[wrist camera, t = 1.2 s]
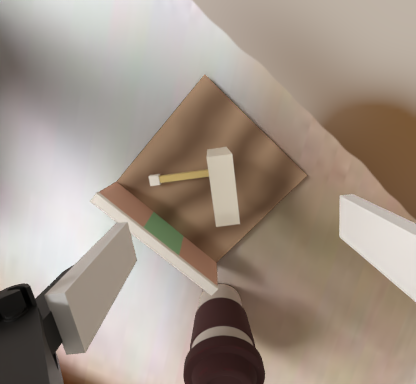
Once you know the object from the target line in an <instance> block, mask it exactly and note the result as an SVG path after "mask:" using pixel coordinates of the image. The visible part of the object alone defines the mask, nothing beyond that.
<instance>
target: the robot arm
mask: <svg viewBox="0 0 416 384" xmlns="http://www.w3.org/2000/svg"><path fill="white" fill-rule="evenodd" d="M339 237H340V238H341V239H342V240H344V241H345V242H346V243H347V244H348V245H349V246H351V247H352V248H353V249H354V250H355V251H356V252H358V253H359V254H360V255H361V256H362V257H363V258H365V259H366V260H367V261H368V262H369V263H370V264H372V265H373V266H374V267H375V268H376V269H377V270H379V271H380V272H381V273H382V274H383V275H385V276H386V277H387V278H388V279H389V280H390V281H392V282H393V283H394V284H395V285H396V286H397V287H399V288H400V289H401V290H402V291H403V292H404V293H406V294H407V295H408V296H409V297H410V298H411V299H413V300H414V301H415V302H416V223H414V222H412V221H410V220H407V219H405V218H403V217H401V216H399V215H397V214H395V213H392V212H390V211H388V210H386V209H384V208H382V207H380V206H378V205H375V204H373V203H371V202H369V201H367V200H365V199H363V198H360V197H358V196H356V195H354V194H348V195H340V222H339ZM136 261H137V258H136V254H135V250H134V246H133V242H132V238H131V234H130V229H129V225H128V222H122V223H116V224H115V225H114V226H113V227H112V228H111V229H110V230H109V231H108V232H107V233H106V234H105V235H104V236H103V237H102V238H101V239H100V240H99V241H98V242H97V243H96V244H95V245H94V246H93V247H92V248H91V249H90V250H89V251H88V252H87V253H86V254H85V255H84V256H83V257H82V258H81V259H80V260H79V261H78V262H77V263H76V264H75V265H73V266H71V267H70V268H68V269H67V270H65V271H63V272H62V273H61V274H60V275H59V276H58V277H57V278H56V280H54V281H53V282H52V283H51V284H50V286H48V287H47V288H46V289H45V290H44V291H43V292H42V293H41V294H40V295H39V296H38V297H37V298H36V299H35V298H34V295H33V292H32V290H31V287H30V286H29V284H18V285H14V286H11V287H8V288H6V289H4V290H2V291H0V384H64V383H63V379H62V374H61V370H60V365H59V360H58V357H57V355H56V350H57V349H58V347H59V346H60V345H61V343H62V344H63V347H64V349H65V352H66V355H68V354H78V353H86V351H87V349H88V347H89V345H90V344H91V342H92V340H93V338H94V336H95V335H96V333H97V331H98V329H99V328H100V326H101V324H102V322H103V320H104V319H105V317H106V315H107V313H108V311H109V310H110V308H111V306H112V304H113V302H114V301H115V299H116V297H117V295H118V294H119V292H120V290H121V288H122V286H123V285H124V283H125V281H126V279H127V277H128V276H129V274H130V272H131V270H132V268H133V267H134V265H135V263H136Z"/></svg>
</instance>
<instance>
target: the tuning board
mask: <svg viewBox="0 0 416 384" xmlns="http://www.w3.org/2000/svg"><path fill="white" fill-rule="evenodd" d="M221 147H227V148H228V149H229V150H230V152H231V153H232V155H233V164H234V173H235V182H236V192H237V201H238V210H239V219H240V224H236V225H228V226H220V227H216V222H215V215H214V208H213V201H212V194H211V186H210V179H209V177H201V178H194V179H186V180H179V181H171V182H164V183H161V185H156V186H150V182H149V176H150V175H154V174H160V175H168V174H175V173H183V172H190V171H197V170H205V169H208V165H207V158H206V157H207V149H214V148H221ZM306 176H307V175H306V174H305V173H304V172H303V171H302V170H301V169H300V168H299V167H298V166H297V165H296V164H295V163H294V162H293V161H292V160H291V159H290V158H289V157H288V156H287V155H286V154H285V153H284V152H283V151H282V150H281V149H280V148H279V147H278V146H277V145H276V144H275V143H274V142H273V141H272V140H271V139H270V138H269V137H268V136H267V135H266V134H265V133H264V132H263V131H262V130H261V129H260V128H259V127H258V126H257V125H256V124H255V123H254V122H252V121H251V120H250V119H249V118H248V117H247V116H246V115H245V114H244V113H243V112H242V111H241V110H240V109H239V108H238V107H237V106H236V105H235V104H234V103H233V102H232V101H231V100H230V99H229V98H228V97H227V96H226V95H225V94H224V93H223V92H222V91H221V90H220V89H219V88H218V87H217V86H216V85H215V84H214V83H213V82H212V81H211V80H210V79H209V78H208V77H207V76H206V75H204V76H203V77H202V78H201V79H200V81H199V82H198V83H197V84H196V86H195V87H194V88H193V89H192V90H191V92H190V93H189V94H188V95H187V97H186V98H185V99H184V100H183V101H182V103H181V104H180V105H179V106H178V107H177V109H176V110H175V111H174V112H173V114H172V115H171V116H170V117H169V118H168V120H167V121H166V122H165V123H164V124H163V126H162V127H161V128H160V129H159V131H158V132H157V133H156V134H155V135H154V137H153V138H152V139H151V140H150V142H149V143H148V144H147V145H146V146H145V148H144V149H143V150H142V151H141V152H140V154H139V155H138V156H137V157H136V159H135V160H134V161H133V162H132V163H131V165H130V166H129V167H128V168H127V170H126V171H125V172H124V173H123V174H122V176H121V177H120V178H119V179H118V180H117V182H118V183H119V184H120V185H121V186H123V187H124V188H125V189H126V190H128V191H129V192H130V193H131V194H133V195H134V196H135V197H136V198H137V199H139V200H140V201H141V202H142V203H144V204H145V205H146V206H147V207H149V208H150V209H151V210H152V211H153V212H155V213H156V214H157V215H158V216H160V217H161V218H162V219H163V220H165V221H166V222H167V223H168V224H169V225H171V226H172V227H173V228H174V229H176V230H177V231H178V232H179V233H181V234H182V235H183V236H184V237H185V238H187V239H188V240H189V241H190V242H192V243H193V244H194V245H195V246H197V247H198V248H199V249H200V250H201V251H203V252H204V253H205V254H206V255H208V256H209V257H210V258H211V259H213V260H214V261H215V262H216V263H217V262H218V261H219V260H220V259H221V258H222V257H223V256H224V255H225V254H226V253H227V252H228V251H229V250H230V249H231V248H232V247H233V246H234V245H235V244H236V243H238V242H239V241H240V240H241V239H242V238H243V237H244V236H245V235H246V234H247V233H248V232H249V231H250V230H251V229H252V228H253V227H254V226H255V225H256V224H257V223H258V222H259V221H260V220H261V219H262V218H263V217H265V216H266V215H267V214H268V213H269V212H270V211H271V210H272V209H273V208H274V207H275V206H276V205H277V204H278V203H279V202H280V201H281V200H282V199H283V198H284V197H285V196H286V195H287V194H288V193H289V192H290V191H292V190H293V189H294V188H295V187H296V186H297V185H298V184H299V183H300V182H301V181H302V180H303V179H304V178H305V177H306Z"/></svg>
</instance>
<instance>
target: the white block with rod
mask: <svg viewBox="0 0 416 384" xmlns="http://www.w3.org/2000/svg"><path fill="white" fill-rule="evenodd" d="M206 158H207V165H208V169H205V170H197V171H190V172H183V173H175V174H168V175H160V174H154V175H150V176H149V182H150V186H156V185H161V183H164V182H171V181H179V180H186V179H194V178H201V177H209V179H210V186H211V194H212V201H213V208H214V215H215V222H216V227H220V226H228V225H236V224H240V219H239V210H238V201H237V192H236V182H235V173H234V164H233V155H232V153H231V152H230V150H229V149H228V148H227V147H221V148H214V149H207V157H206Z"/></svg>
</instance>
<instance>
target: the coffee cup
mask: <svg viewBox="0 0 416 384" xmlns="http://www.w3.org/2000/svg"><path fill="white" fill-rule="evenodd" d="M264 379H265V371H264V366H263V362H262V358H261V356H260V354H259V352H258V351H257V349H256V348H255V343H254V340H253V336H252V333H251V329H250V326H249V322H248V319H247V315H246V312H245V310H244V309H243V306H242V302H241V298H240V296H239V294H238V292H237V291H236V290H235V289H234V288H233V287H231V286H229V285H226V284H218V290H217V291H216V292H215V293H214V294H213V295H212V296H211V295H210V294H208V293H207V292H206V291H203V292H202V294H201V296H200V298H199V304H198V310H197V312H196V315H195V320H194V327H193V333H192V339H191V345H190V351H189V353H188V355H187V357H186V360H185V365H184V382H185V384H263V383H264Z"/></svg>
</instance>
